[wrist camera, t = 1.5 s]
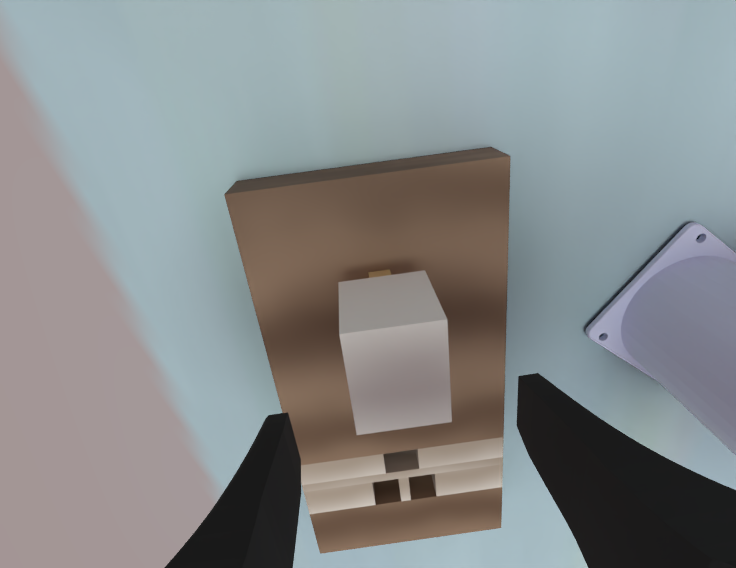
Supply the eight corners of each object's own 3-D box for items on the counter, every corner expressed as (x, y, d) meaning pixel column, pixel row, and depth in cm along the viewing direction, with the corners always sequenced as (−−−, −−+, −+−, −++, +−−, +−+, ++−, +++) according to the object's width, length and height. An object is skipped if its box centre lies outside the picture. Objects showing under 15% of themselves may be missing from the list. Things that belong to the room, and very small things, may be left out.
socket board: (489, 494, 31) (501, 527, 29) (321, 518, 31) (320, 553, 29) (491, 146, 20) (510, 156, 18) (236, 181, 20) (224, 194, 18)
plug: (422, 335, 22) (451, 422, 16) (351, 345, 22) (356, 435, 16) (416, 252, 20) (447, 319, 14) (338, 263, 20) (339, 334, 14)
